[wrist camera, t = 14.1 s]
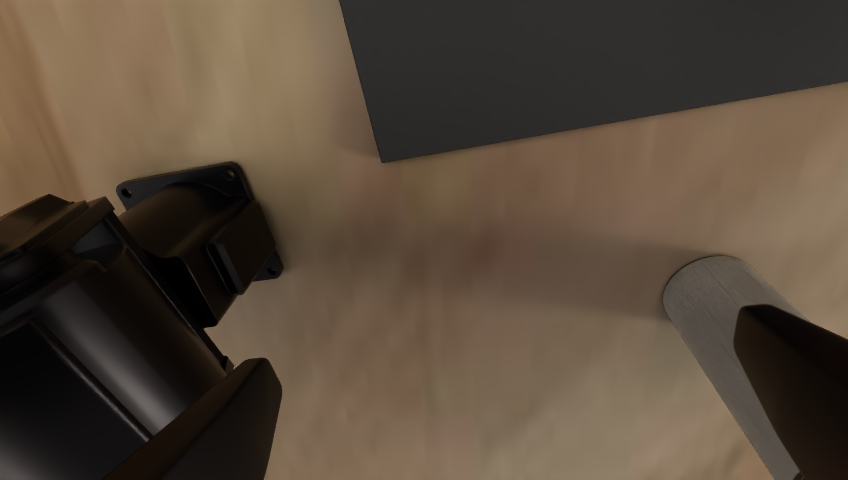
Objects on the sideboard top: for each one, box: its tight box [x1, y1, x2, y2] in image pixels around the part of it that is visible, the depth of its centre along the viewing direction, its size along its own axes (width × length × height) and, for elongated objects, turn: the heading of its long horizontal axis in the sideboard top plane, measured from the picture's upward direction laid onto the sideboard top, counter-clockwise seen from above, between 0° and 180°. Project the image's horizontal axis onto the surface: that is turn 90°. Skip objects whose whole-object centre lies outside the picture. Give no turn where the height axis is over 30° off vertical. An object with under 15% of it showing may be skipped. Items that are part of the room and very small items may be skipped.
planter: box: [663, 256, 810, 480], centre depth 18 cm, size 4×4×10 cm
